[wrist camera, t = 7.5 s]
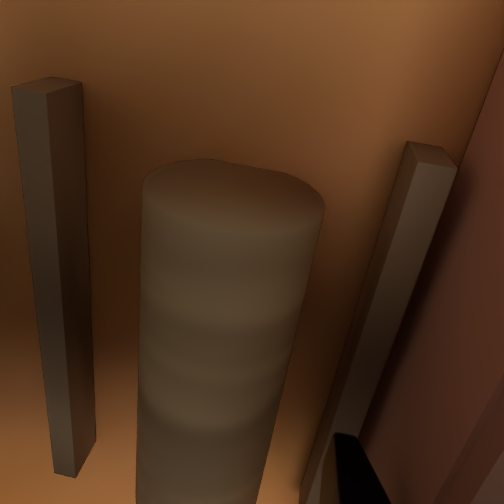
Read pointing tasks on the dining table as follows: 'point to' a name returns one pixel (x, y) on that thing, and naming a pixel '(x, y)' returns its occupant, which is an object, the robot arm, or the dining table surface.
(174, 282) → the roller
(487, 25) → the dining table surface
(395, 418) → the stop beam
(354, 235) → the dining table surface
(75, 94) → the roller bed
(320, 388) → the dining table surface
